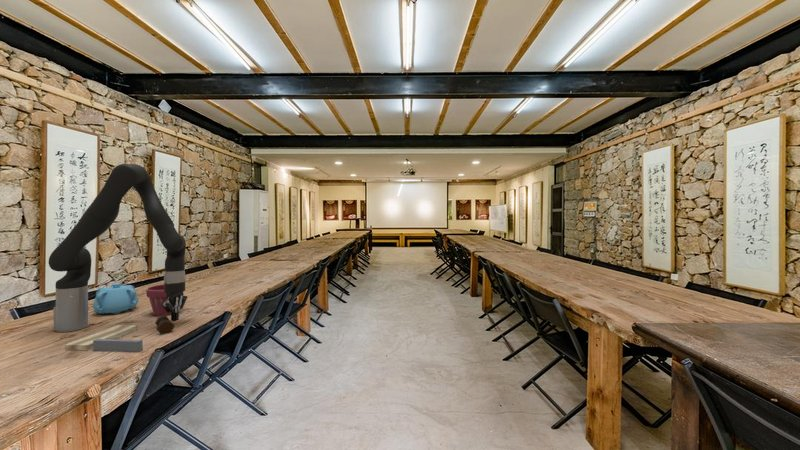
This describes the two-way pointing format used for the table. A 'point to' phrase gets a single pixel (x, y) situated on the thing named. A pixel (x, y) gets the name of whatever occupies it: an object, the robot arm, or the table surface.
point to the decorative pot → (115, 299)
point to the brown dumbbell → (164, 325)
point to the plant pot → (157, 299)
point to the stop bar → (117, 345)
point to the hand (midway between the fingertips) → (174, 320)
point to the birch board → (100, 337)
